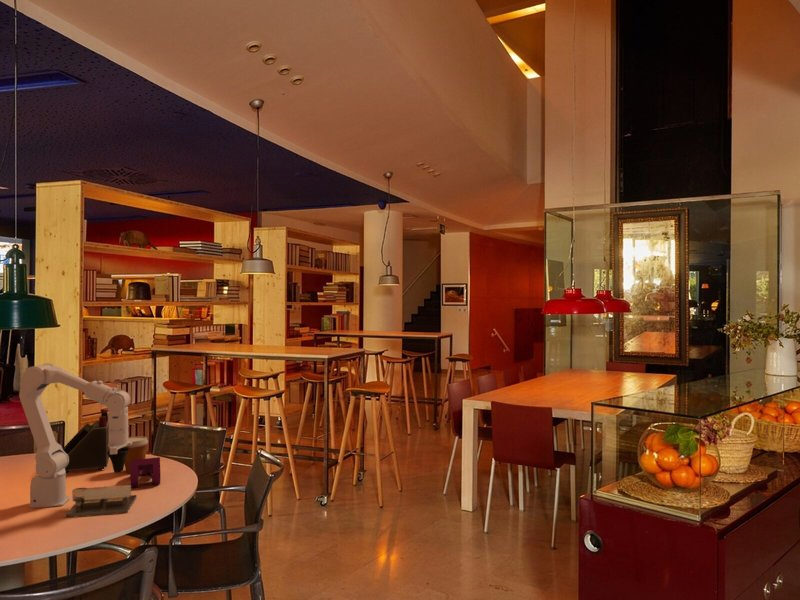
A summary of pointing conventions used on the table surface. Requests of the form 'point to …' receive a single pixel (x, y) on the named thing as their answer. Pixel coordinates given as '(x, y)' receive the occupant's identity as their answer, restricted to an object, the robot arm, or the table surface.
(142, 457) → the disposable coffee cup
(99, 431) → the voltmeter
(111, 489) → the beige rectangular bar
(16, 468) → the table surface
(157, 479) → the mounting bracket
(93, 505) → the tray
